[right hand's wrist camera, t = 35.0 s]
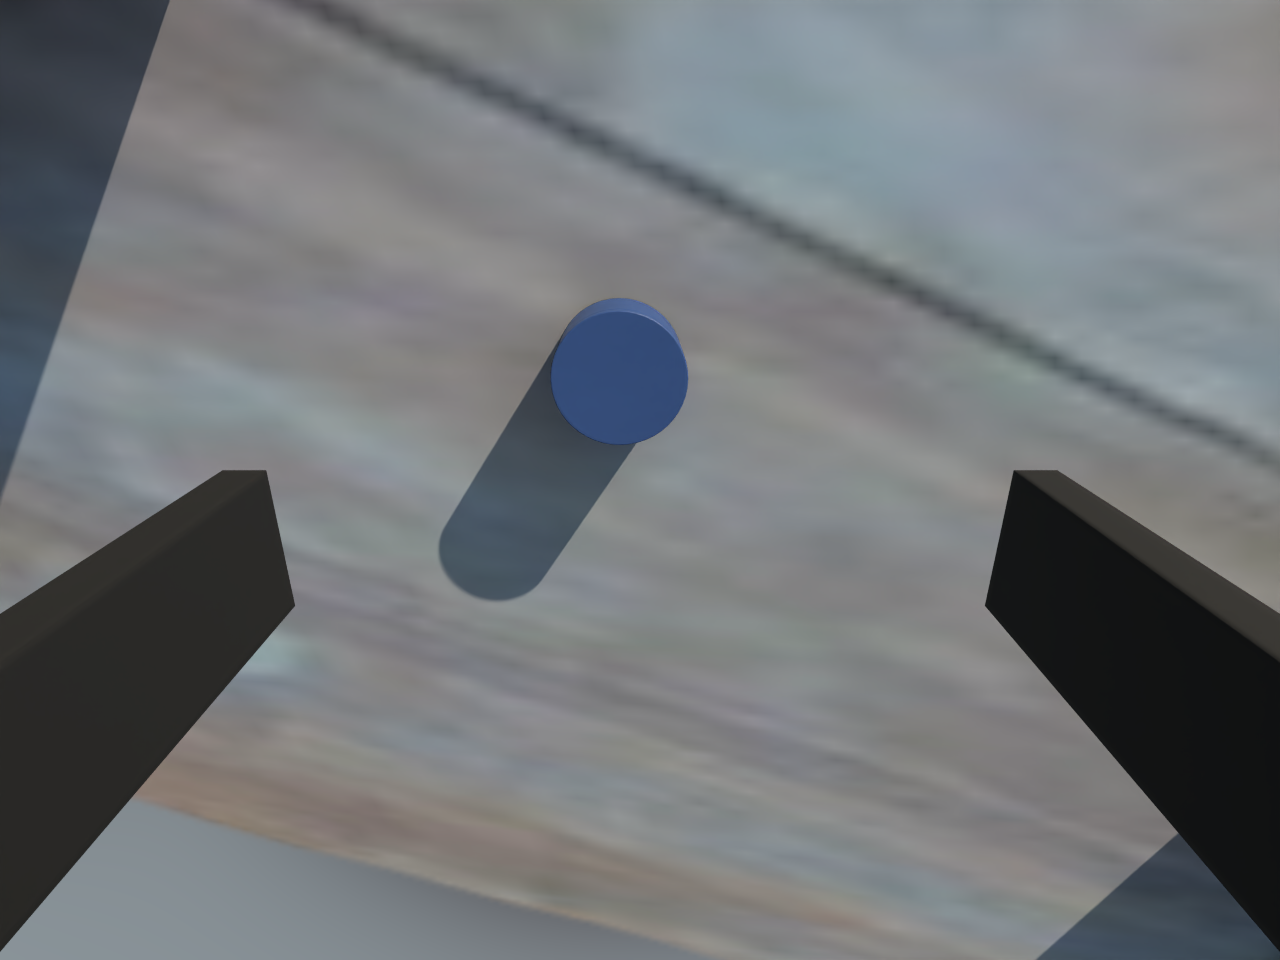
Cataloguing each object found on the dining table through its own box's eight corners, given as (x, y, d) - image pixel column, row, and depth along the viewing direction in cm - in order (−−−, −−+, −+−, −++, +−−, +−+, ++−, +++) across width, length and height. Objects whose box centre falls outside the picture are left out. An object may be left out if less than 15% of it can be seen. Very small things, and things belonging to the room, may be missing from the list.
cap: (533, 339, 23) (523, 356, 21) (642, 273, 22) (644, 283, 20) (599, 441, 25) (597, 468, 22) (703, 382, 24) (712, 403, 21)
